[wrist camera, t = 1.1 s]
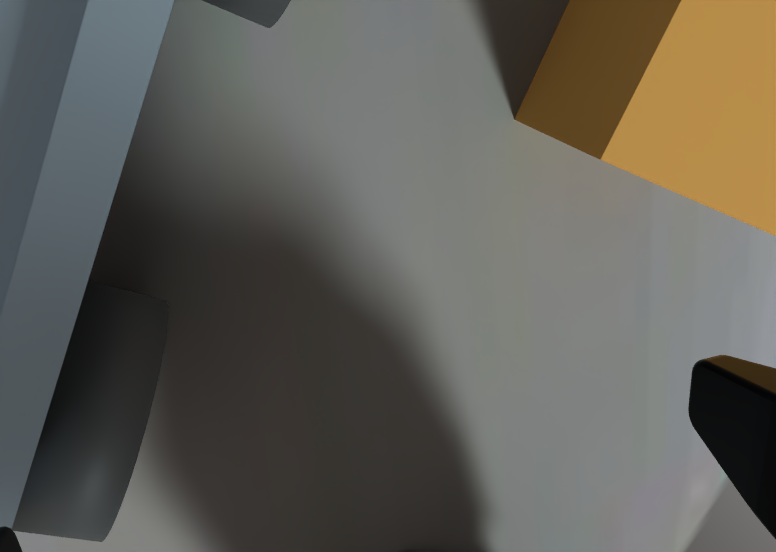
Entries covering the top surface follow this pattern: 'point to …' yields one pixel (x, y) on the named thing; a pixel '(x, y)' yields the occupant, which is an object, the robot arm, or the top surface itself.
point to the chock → (668, 96)
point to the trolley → (74, 258)
